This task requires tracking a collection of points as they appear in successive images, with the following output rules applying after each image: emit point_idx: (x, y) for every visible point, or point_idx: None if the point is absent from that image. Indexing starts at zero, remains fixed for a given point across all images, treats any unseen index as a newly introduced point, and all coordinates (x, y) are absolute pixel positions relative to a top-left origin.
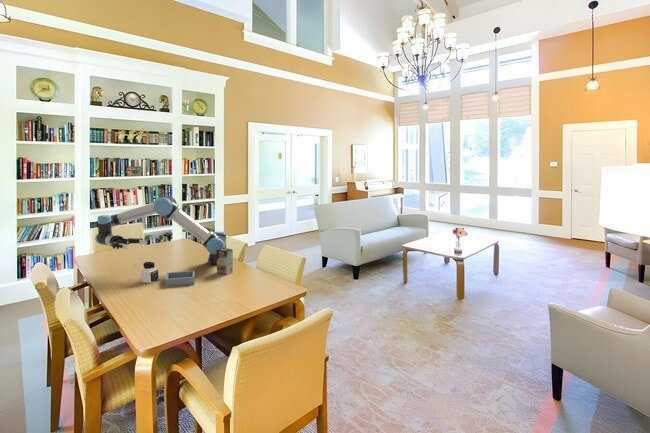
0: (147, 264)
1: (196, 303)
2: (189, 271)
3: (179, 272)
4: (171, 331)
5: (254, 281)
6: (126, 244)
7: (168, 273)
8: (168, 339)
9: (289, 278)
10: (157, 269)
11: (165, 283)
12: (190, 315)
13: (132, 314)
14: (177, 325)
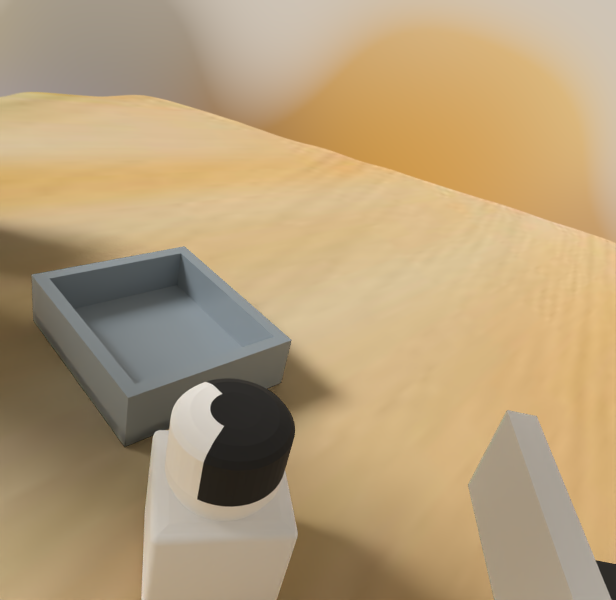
0: (285, 406)
1: (376, 233)
2: (59, 291)
3: (93, 334)
4: (544, 233)
5: (68, 150)
6: (514, 430)
7: (150, 380)
8: (568, 229)
9: (8, 97)
10: (168, 430)
11: (285, 363)
12: (454, 226)
13: (592, 340)
14: (516, 232)
